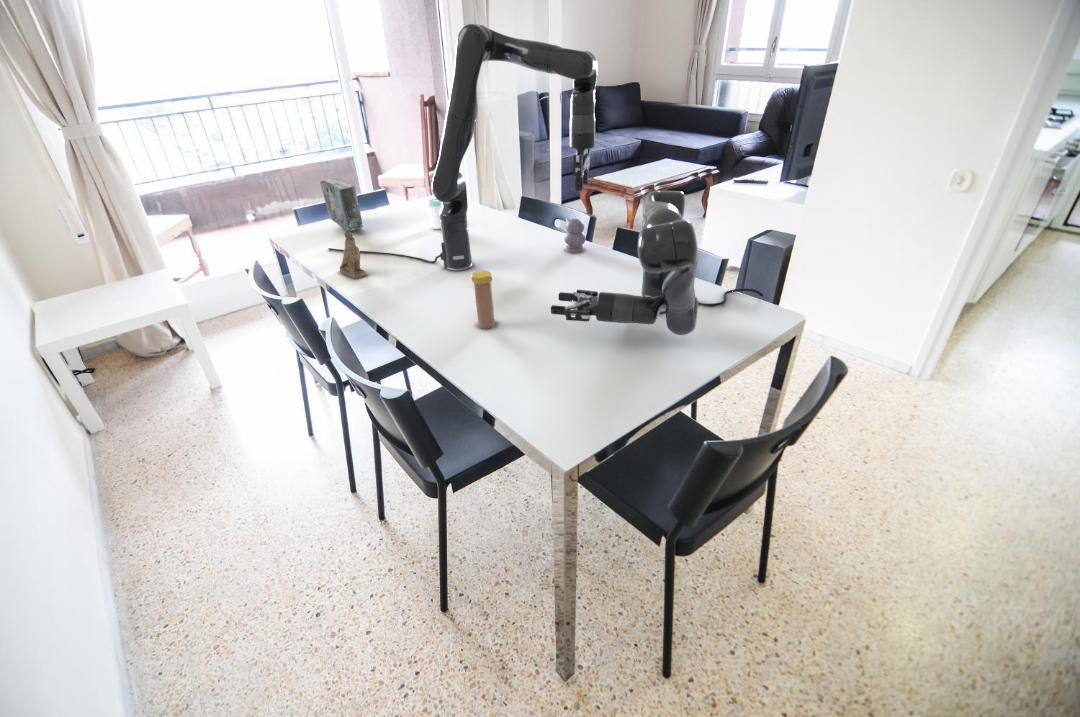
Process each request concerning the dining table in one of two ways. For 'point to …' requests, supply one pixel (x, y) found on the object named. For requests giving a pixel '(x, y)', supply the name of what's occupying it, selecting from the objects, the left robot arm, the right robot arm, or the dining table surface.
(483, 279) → the lid
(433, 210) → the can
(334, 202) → the concrete block
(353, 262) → the worn brown figurine
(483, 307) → the jar
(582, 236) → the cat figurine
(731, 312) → the dining table surface
